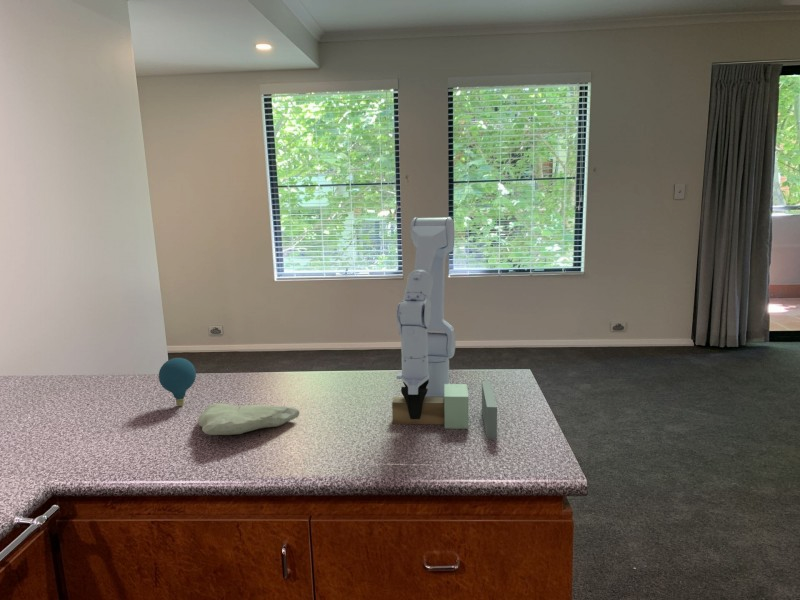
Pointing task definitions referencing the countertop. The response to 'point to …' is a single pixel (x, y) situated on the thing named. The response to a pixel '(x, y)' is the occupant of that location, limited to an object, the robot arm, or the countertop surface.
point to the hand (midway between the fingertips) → (415, 414)
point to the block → (456, 406)
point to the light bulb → (177, 377)
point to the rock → (243, 418)
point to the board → (489, 410)
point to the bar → (429, 413)
